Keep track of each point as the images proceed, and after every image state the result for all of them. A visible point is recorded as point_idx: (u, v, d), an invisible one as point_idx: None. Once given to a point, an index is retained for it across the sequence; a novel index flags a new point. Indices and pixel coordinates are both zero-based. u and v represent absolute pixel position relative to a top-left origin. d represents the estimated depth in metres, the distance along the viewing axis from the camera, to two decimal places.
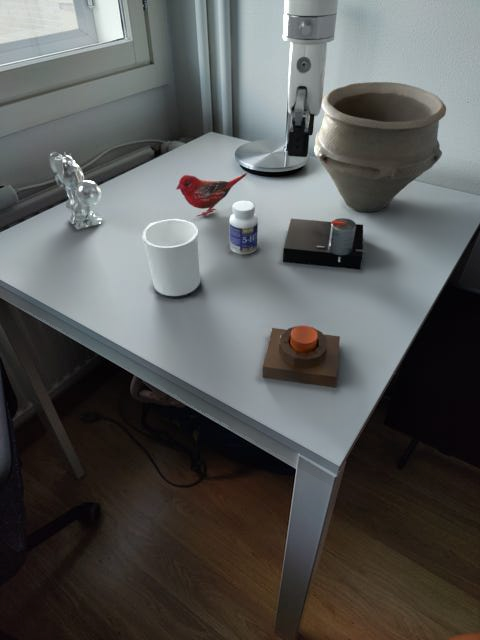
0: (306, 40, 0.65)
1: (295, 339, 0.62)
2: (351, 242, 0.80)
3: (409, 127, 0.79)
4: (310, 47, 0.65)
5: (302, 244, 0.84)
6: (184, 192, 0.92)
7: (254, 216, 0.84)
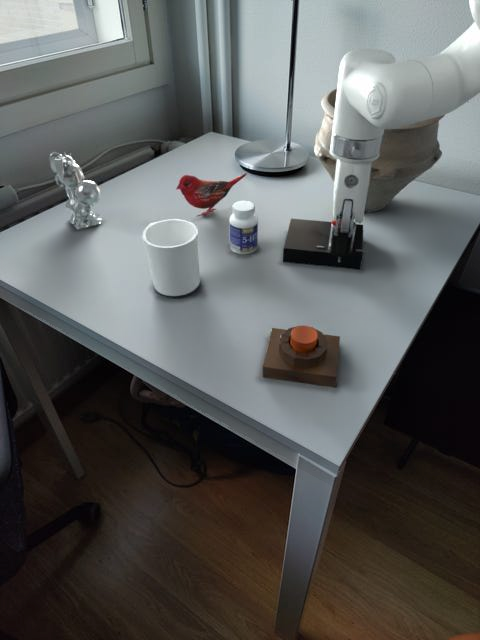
0: (354, 159, 0.68)
1: (295, 339, 0.62)
2: (351, 242, 0.80)
3: (409, 127, 0.79)
4: (358, 167, 0.68)
5: (302, 244, 0.84)
6: (184, 192, 0.92)
7: (254, 216, 0.84)
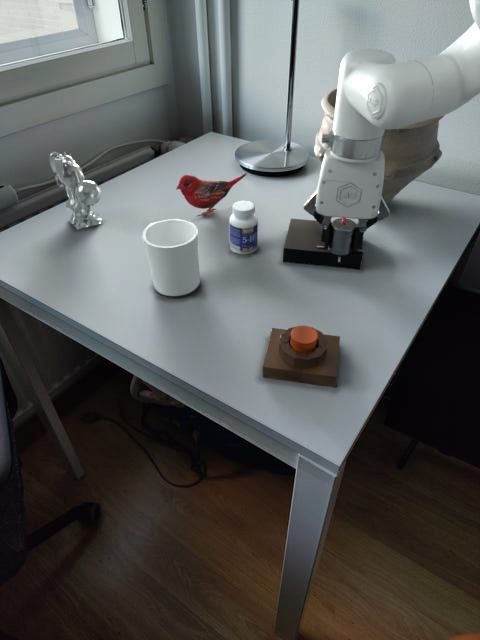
0: None
1: (295, 339, 0.62)
2: (334, 242, 0.80)
3: (409, 127, 0.79)
4: (324, 155, 0.71)
5: (302, 244, 0.84)
6: (184, 192, 0.92)
7: (254, 216, 0.84)
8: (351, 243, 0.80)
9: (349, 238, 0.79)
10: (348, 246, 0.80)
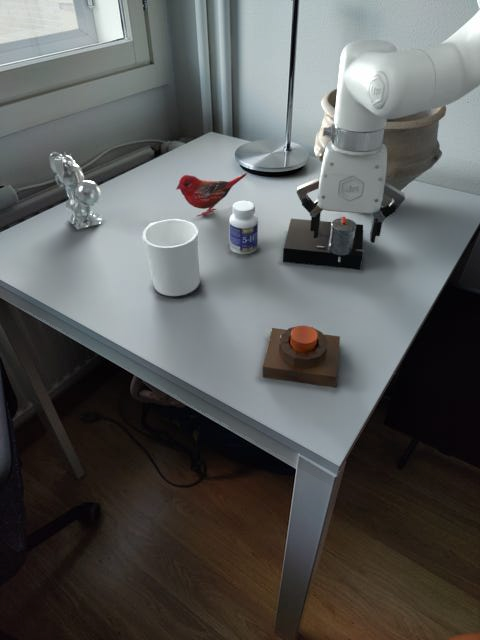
0: None
1: (295, 339, 0.62)
2: (335, 242, 0.80)
3: (409, 127, 0.79)
4: None
5: (302, 244, 0.84)
6: (184, 192, 0.92)
7: (254, 216, 0.84)
8: (351, 243, 0.80)
9: (350, 237, 0.79)
10: (349, 246, 0.80)
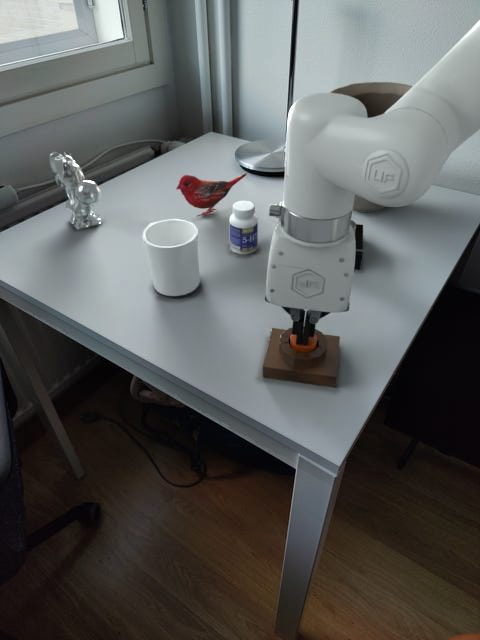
0: None
1: (295, 343, 0.62)
2: None
3: None
4: (274, 231, 0.52)
5: None
6: (184, 192, 0.92)
7: (254, 216, 0.84)
8: None
9: None
10: None
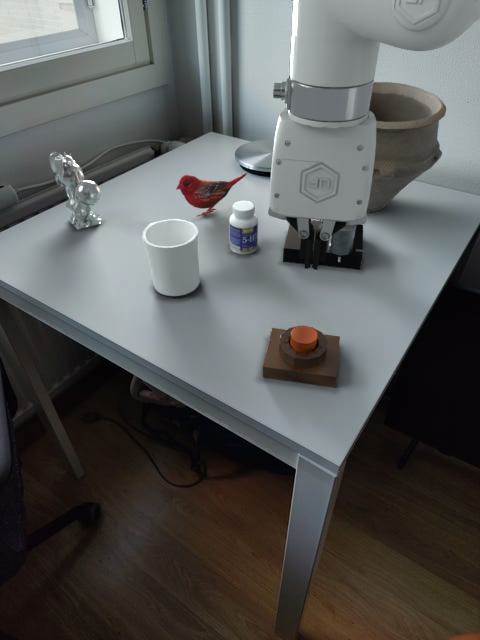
0: None
1: (295, 339, 0.62)
2: (335, 242, 0.80)
3: (409, 127, 0.79)
4: None
5: None
6: (184, 192, 0.92)
7: (254, 216, 0.84)
8: (351, 243, 0.80)
9: (350, 237, 0.79)
10: (349, 246, 0.80)
